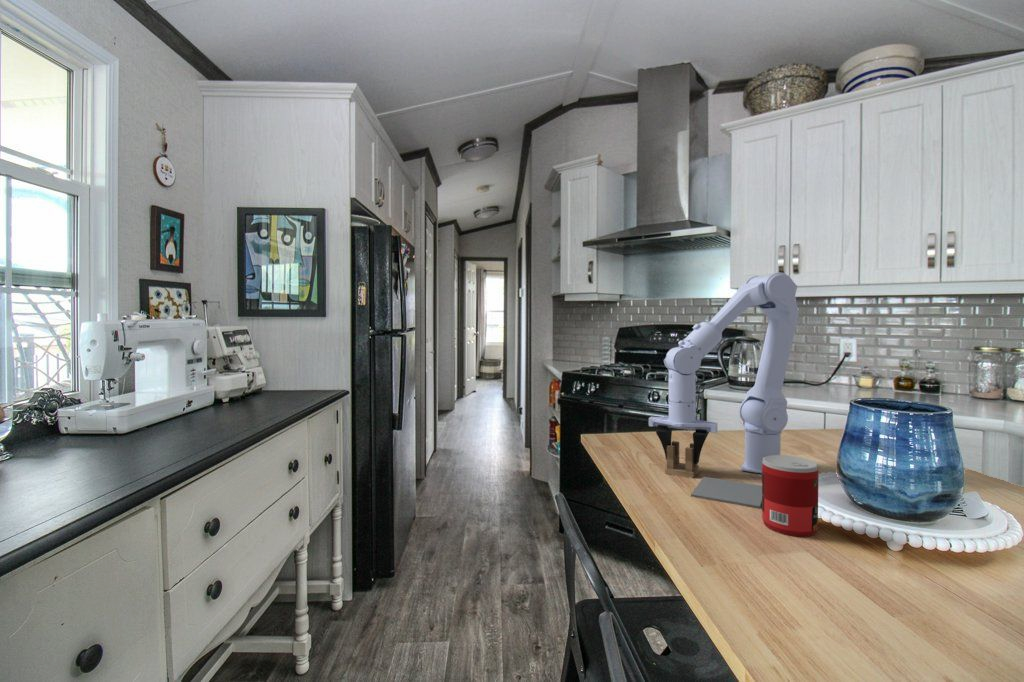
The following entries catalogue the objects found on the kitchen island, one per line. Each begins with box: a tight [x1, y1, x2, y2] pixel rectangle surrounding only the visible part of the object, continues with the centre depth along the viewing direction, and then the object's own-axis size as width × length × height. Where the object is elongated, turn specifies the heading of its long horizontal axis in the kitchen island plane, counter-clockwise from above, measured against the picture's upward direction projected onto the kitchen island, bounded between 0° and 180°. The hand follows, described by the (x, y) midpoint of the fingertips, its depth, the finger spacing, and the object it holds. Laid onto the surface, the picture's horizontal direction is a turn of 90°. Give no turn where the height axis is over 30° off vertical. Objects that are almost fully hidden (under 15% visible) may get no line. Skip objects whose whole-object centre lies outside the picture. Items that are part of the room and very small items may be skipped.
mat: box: [690, 476, 762, 509], centre depth 95 cm, size 12×12×1 cm
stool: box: [664, 440, 700, 479], centre depth 107 cm, size 6×6×6 cm
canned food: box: [761, 454, 819, 537], centre depth 79 cm, size 8×8×11 cm
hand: (682, 460), depth 107 cm, fingers closed on stool, 5 cm apart
